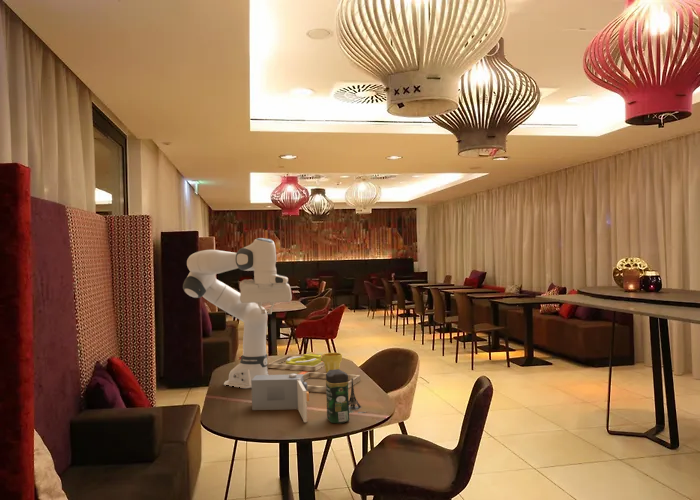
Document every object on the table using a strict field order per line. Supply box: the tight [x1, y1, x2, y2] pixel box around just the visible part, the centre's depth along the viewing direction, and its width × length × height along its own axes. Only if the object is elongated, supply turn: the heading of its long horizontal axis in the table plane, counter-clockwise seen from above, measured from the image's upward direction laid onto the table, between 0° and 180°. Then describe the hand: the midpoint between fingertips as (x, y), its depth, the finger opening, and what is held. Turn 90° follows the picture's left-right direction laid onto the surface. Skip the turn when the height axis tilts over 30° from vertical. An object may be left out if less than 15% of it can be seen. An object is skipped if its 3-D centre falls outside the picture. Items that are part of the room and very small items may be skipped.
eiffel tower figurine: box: [349, 379, 365, 414], centre depth 215 cm, size 15×10×13 cm
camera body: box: [251, 373, 308, 411], centre depth 220 cm, size 22×9×13 cm, turn 89°
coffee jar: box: [325, 369, 350, 425], centre depth 200 cm, size 10×8×19 cm
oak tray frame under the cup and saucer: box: [303, 371, 361, 394], centre depth 254 cm, size 28×26×2 cm
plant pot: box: [321, 352, 343, 373], centre depth 279 cm, size 10×10×10 cm
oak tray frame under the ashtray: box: [267, 355, 325, 372], centre depth 301 cm, size 29×24×2 cm
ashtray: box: [285, 353, 322, 366], centre depth 300 cm, size 16×21×5 cm
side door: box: [297, 378, 310, 423], centre depth 206 cm, size 19×2×12 cm, turn 13°
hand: (266, 313), depth 211 cm, fingers closed
